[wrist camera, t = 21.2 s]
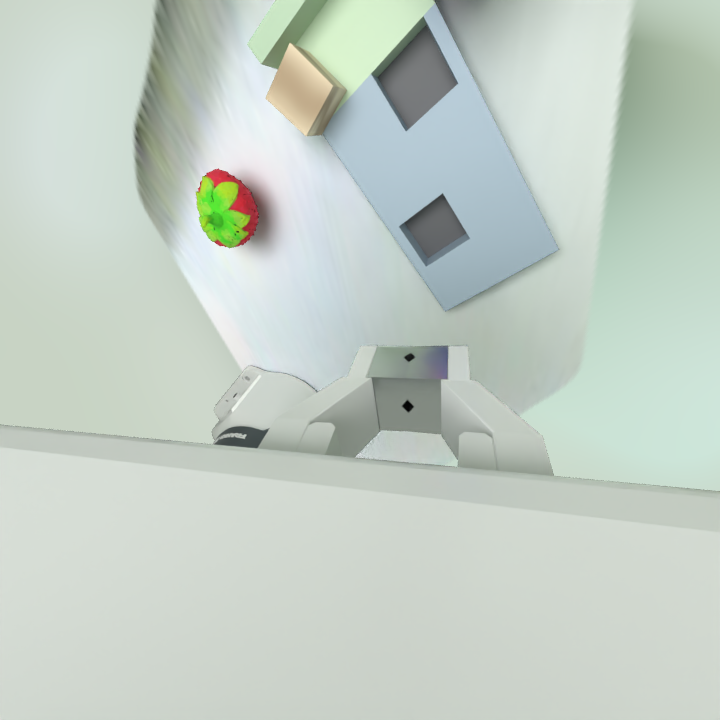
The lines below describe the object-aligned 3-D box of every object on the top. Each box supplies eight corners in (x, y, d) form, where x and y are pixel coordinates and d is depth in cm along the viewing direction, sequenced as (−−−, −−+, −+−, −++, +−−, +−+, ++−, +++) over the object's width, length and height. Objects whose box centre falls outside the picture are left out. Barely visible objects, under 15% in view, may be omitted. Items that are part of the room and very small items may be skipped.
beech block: (321, 134, 30) (305, 136, 27) (286, 100, 29) (265, 98, 26) (347, 90, 28) (333, 85, 25) (309, 51, 27) (289, 42, 24)
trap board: (446, 300, 40) (444, 324, 35) (280, 56, 30) (247, 44, 25) (551, 240, 33) (567, 260, 29) (385, -90, 24) (367, -142, 19)
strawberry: (273, 169, 36) (221, 182, 28) (274, 238, 40) (230, 267, 32) (223, 159, 36) (158, 169, 28) (230, 228, 41) (176, 254, 33)
